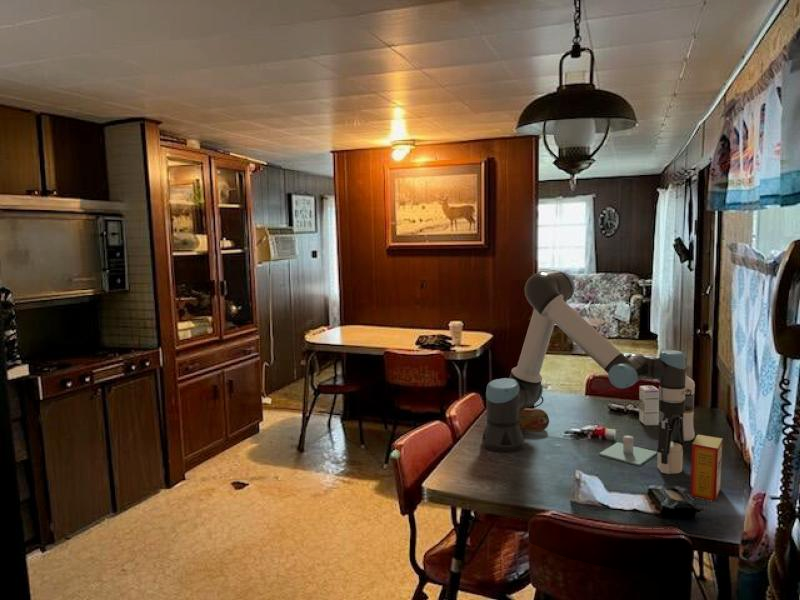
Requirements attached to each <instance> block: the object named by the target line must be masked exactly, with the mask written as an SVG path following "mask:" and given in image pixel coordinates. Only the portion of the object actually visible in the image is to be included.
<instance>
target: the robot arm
mask: <svg viewBox="0 0 800 600" xmlns="http://www.w3.org/2000/svg"><path fill="white" fill-rule="evenodd" d="M575 289H576V286H575V282H574V280H573V277H571V275H570V274H569V273H567V272H566V271H564V270H561V269H560V270H557V269H552V270H548V271H541V272H540V271H539V272H536V273H533V275H531V276H530V277H529V278H527V281H526V283H525V285H524V296H525V298H526V301H527V302H528V303H529V304H530V306H531V307H532V308H533V311H532V315H531V318H530V322H529V325H528V328H527V332H526V335H525V338H524V340H523V341H524V342H523V345H522V349H521V353H520V355H519V358H518V362H517V366H515V367H513V368H511V372H510V375H509V378H508V377H502V378H499V379H498V378H496V379H493V380H491V381H489V382H488V383H487V384H486V385H487V386H486V392H485V398H486V406H485V407H486V425H485V428H484V430H483V434H482V438H481V445H482V447H483V448H484V449H486V450H489V451H491V452H497V453H514V452H519V451H521V450H522V449H523V448H524V447H525V438H524V436H523V432H522V431H521V429H520V426H519V411H521V410H523V409H525V408H527V407H529V406H532V405H534V406H535V404H537V402H538V401H539V400H540V399H542V398H541V396H542V397H543V391H544V389H543V384H542V381H543V377H542V375H541V374H540V373H541V370H542V368H543V363H544V361H545V357H546V353H547V350H548V347H549V344H550V340H551V337H552V334H553V331H554V328H555V325H556V327H558V328H559V329H560V330H561V331H562V332H563V333H564V334H565V335H567V337H569V338H570V340H571V341H572V342H574V343H575V344H576V345H577V346H578V347H579V348H580V349H581V350H582V351H583V352H585V353H586V354H587V355H588V357H590V358H591V359H592V360H593V361H595V363H596V364H597V365H598V366H599V367H601V368H602V369H603V370H604V372H606V373H607V377H608V380H609V383H610V384H611V385H613V386H614V387H615V388H618V389H627V388H630V387H632V386H634V385H635V384H636V383H637V382H639V381H641V380H642V379H650V380H658V381H659V382H658V383H659V384H658V389H659V412H660V413H663V418H662V421H661V420H660V421H659V422H658V426H659V430H658V431H659V432H658V442H657V443H658V444H657V450H656V452H657V453H658V452H659V453H661V468H660V470H659V471H660V473H663V474H667V475H670V455H671V454H670V453H669V451H670V445H671V442H676V443H679V444H681V445H682V447H684V446H685V441H684V430H683V413H684V412H685V402H684V400H685V394H687V392H686V391H685V379H686V375H687V369H686V358H687V357H686V354H685V353H684V352H682V351H680V350H675V349H674V350H672V349H670V350H669V349H665V350H662V351H659V355H649V354H643V353H642V354H639V353H635V352H633V353H627V352H626V353H622V352H621V351H620V350H619V349H618V348H616V346H614V345H613V344H612V343H611V342H610V341H609V340H608V339H607V338H606V337H605V336H603V334H601V333H600V332H599V331H598V330H597V329H596V327H595V328H594V327H593V326H592V325H591V324H590V323H589V322H588V321H587V320H586V319H585V318H584V317H582V316H581V315H580V313H579V312H577V311H576V310H575V309H574V308H573V307H572V306H570V305H569V304H568V303H567V301H569V300H570V299H571V298H572V297H573V296H574V294H575ZM669 429H670V430H669Z"/></svg>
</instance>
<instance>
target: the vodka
mask: <svg viewBox="0 0 800 600" xmlns="http://www.w3.org/2000/svg"><path fill="white" fill-rule="evenodd" d="M687 362H688V358H687V357H686V370H688V369H687V367H688V366H687ZM695 388H696V384H695V381H694V380H693V379H692V378H691V377H689V376H688V375H687V374H686V379H685V391H686V392H687V394H685V400H684V402H685V412H684V413H683V430H684V441H683V442H689V441H692V440H694V438H695V430H694V429H695V427H694V416H695V415H694V414H695V412H694V411H695V410H694V409H695V408H694V407H695V406H694V405H695V391H696V390H695ZM669 430H670V429H669Z"/></svg>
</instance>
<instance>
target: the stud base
mask: <svg viewBox="0 0 800 600" xmlns="http://www.w3.org/2000/svg"><path fill="white" fill-rule="evenodd" d="M622 438H623V439H622V440H623V441H622V442H623V443H622V442H619V441H617V442H616V443H614V444H613V445H611V446H609V447H607V448H606V449H604V450H602V451H600V452H599V453H598V455H599V456H602V457H605V458H608V459H613V460H616V461H619V462H623V463H626V464H631V465H634V466H638V467H641V466H642V465H643V464H646V462H647V461H648V460H650V459H652V458H653V457H655V456H656V455H658V452H657V451H655V450H650V449H646V448H642V447H639V446H634V436H633V435H624V436H623V437H622Z"/></svg>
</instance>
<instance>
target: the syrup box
mask: <svg viewBox="0 0 800 600" xmlns="http://www.w3.org/2000/svg"><path fill="white" fill-rule="evenodd" d="M638 388H639V395H638V396H639V398H638V399H639V403H638V405H639V407H638V408H639V409H638V421H639V422H640V423H642V425H644V426H659V422H660V421H659V417H660V416H659V414H660V410H659V400H660V398H659V388H657V387H656V386H654V385H639V387H638Z"/></svg>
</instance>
